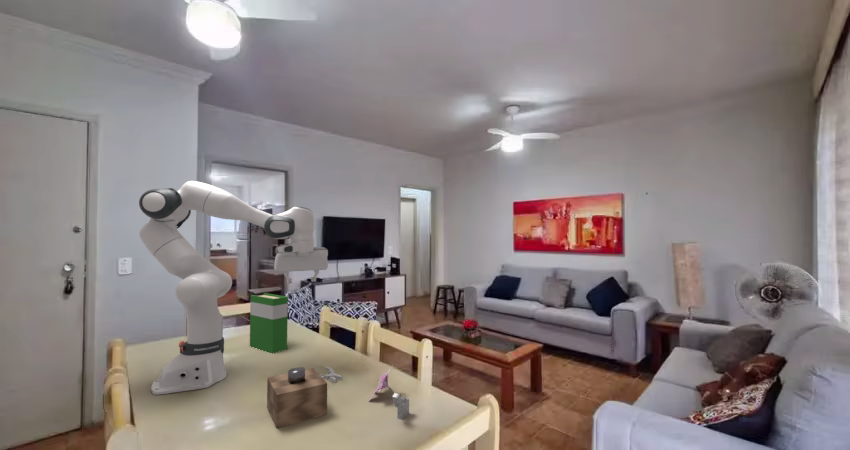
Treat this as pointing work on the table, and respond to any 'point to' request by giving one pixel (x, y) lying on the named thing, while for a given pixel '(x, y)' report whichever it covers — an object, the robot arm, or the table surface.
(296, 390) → the block
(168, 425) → the table surface
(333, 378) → the grey branched figurine
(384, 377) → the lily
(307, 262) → the robot arm
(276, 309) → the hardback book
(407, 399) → the lighter
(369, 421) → the table surface
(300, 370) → the pin
